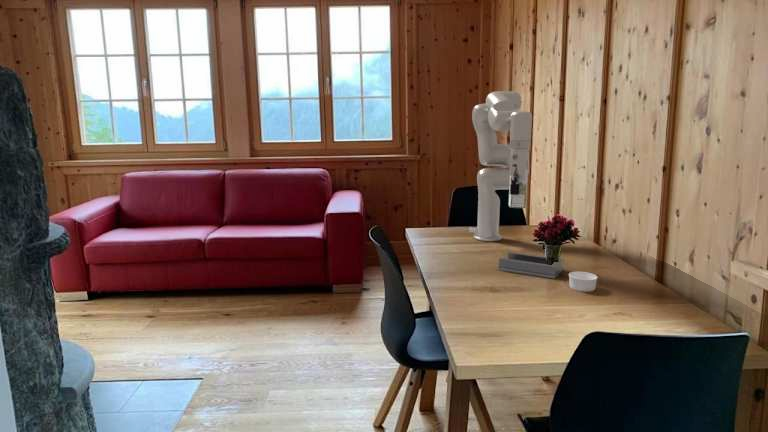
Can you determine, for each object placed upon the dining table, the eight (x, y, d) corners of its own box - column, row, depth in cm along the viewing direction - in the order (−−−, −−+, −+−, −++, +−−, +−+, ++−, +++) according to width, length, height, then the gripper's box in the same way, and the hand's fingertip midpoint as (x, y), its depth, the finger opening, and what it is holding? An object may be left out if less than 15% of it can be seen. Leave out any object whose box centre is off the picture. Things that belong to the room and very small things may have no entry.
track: (498, 270, 197) (498, 259, 196) (509, 261, 208) (509, 251, 207) (554, 278, 187) (555, 267, 186) (562, 269, 198) (563, 258, 197)
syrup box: (523, 206, 207) (525, 167, 204) (525, 208, 201) (527, 169, 199) (508, 205, 207) (510, 167, 205) (510, 208, 202) (512, 169, 199)
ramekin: (598, 293, 172) (600, 280, 172) (569, 291, 174) (570, 278, 173) (594, 284, 181) (595, 272, 180) (566, 283, 183) (567, 270, 182)
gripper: (523, 146, 191) (520, 196, 194) (536, 144, 206) (534, 191, 209) (502, 146, 195) (500, 195, 198) (516, 144, 209) (514, 190, 213)
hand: (517, 192), depth 203 cm, fingers closed on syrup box, 7 cm apart
